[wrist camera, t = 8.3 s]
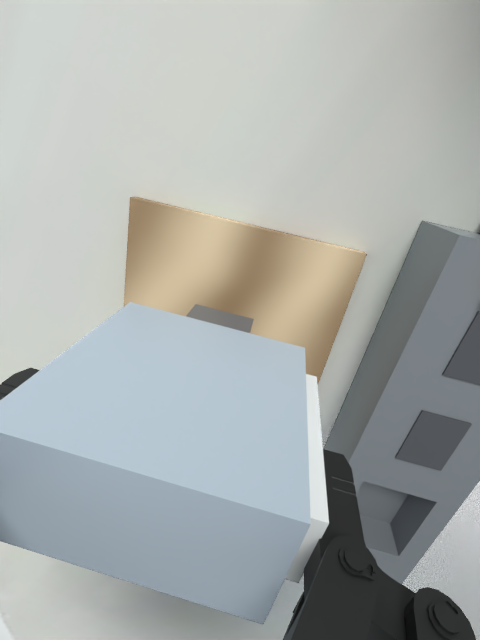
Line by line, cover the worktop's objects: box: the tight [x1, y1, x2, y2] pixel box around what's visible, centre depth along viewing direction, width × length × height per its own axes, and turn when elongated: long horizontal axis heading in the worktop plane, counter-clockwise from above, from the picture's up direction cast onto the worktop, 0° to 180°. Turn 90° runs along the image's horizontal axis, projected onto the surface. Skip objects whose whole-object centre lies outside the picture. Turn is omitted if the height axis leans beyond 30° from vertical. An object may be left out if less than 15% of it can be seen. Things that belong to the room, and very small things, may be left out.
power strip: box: [324, 221, 480, 584], centre depth 16 cm, size 28×6×5 cm, turn 168°
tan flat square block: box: [124, 197, 367, 385], centre depth 19 cm, size 12×12×1 cm
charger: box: [0, 302, 311, 624], centre depth 13 cm, size 4×8×10 cm, turn 78°
